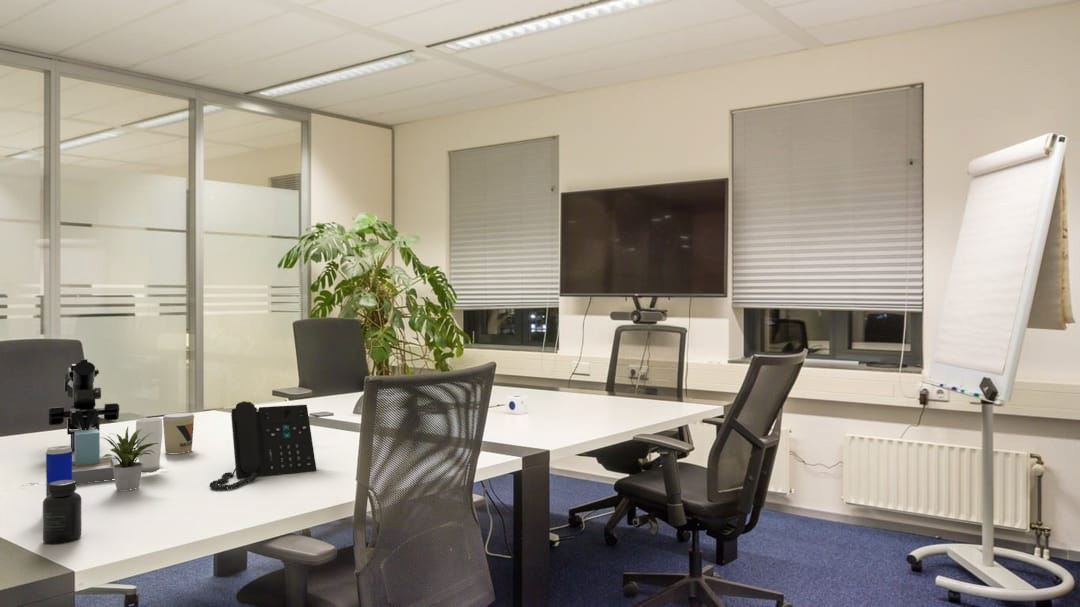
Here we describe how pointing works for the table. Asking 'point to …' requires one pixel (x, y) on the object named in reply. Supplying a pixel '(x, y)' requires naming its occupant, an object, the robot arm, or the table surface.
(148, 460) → the white tall tapered cylinder
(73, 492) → the supplement bottle
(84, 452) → the block
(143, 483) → the table surface
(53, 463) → the beverage can
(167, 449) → the coffee cup
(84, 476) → the box
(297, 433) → the office phone
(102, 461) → the board
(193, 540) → the table surface
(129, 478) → the house plant
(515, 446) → the table surface
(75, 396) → the robot arm
